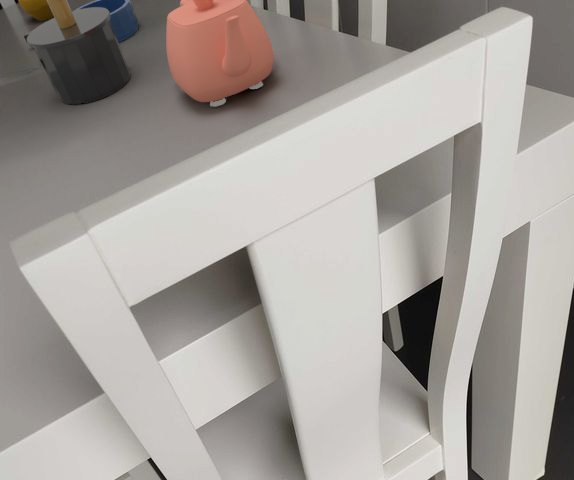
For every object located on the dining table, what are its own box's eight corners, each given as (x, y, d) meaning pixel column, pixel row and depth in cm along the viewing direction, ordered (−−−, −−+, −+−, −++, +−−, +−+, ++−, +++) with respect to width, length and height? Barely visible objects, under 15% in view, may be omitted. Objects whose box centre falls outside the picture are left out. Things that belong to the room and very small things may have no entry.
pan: (77, 56, 104) (64, 29, 101) (79, 34, 112) (68, 8, 109) (140, 36, 104) (129, 9, 100) (138, 16, 112) (128, -10, 108)
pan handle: (27, 43, 105) (23, 36, 104) (27, 40, 106) (24, 33, 106) (69, 29, 105) (66, 22, 104) (70, 27, 106) (67, 19, 105)
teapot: (214, 134, 74) (182, 33, 65) (164, 86, 87) (131, -4, 78) (307, 93, 76) (287, -11, 67) (244, 52, 89) (221, -39, 80)
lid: (26, 61, 83) (4, 18, 79) (35, 32, 91) (15, -9, 87) (112, 35, 83) (94, -10, 78) (112, 8, 91) (96, -34, 87)
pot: (57, 112, 89) (28, 55, 83) (62, 82, 97) (35, 28, 91) (131, 90, 89) (107, 30, 82) (130, 61, 97) (108, 5, 90)
